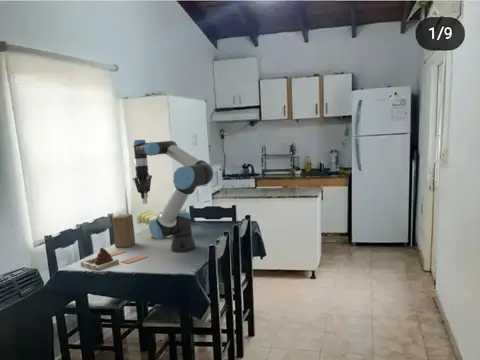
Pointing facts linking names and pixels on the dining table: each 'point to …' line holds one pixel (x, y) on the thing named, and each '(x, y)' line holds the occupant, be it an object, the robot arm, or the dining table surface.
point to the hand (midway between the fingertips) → (145, 203)
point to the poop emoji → (103, 257)
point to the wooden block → (123, 230)
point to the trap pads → (129, 258)
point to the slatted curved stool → (149, 217)
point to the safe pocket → (97, 267)
